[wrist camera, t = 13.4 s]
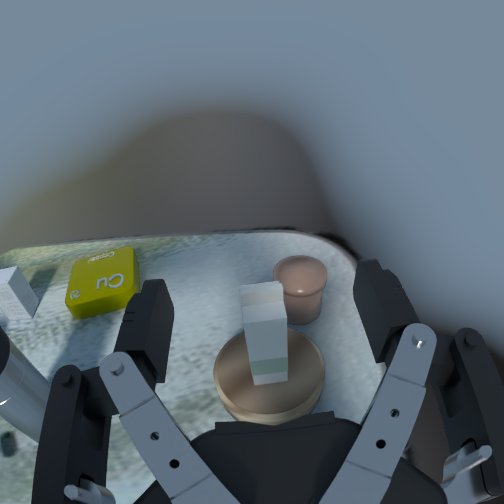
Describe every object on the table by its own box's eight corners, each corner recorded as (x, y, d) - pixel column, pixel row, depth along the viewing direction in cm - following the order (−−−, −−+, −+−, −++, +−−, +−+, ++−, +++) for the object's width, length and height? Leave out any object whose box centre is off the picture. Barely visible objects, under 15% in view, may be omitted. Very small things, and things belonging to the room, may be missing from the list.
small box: (40, 301, 57) (18, 264, 50) (32, 319, 52) (7, 282, 46) (17, 303, 56) (-5, 269, 50) (9, 320, 52) (-15, 286, 45)
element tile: (139, 259, 66) (132, 241, 63) (141, 305, 55) (132, 286, 52) (80, 275, 63) (72, 259, 61) (72, 322, 52) (61, 305, 49)
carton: (253, 385, 35) (240, 312, 26) (250, 351, 39) (237, 273, 31) (288, 381, 35) (287, 305, 26) (282, 347, 39) (278, 268, 31)
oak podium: (199, 390, 40) (190, 373, 37) (263, 330, 48) (261, 308, 45) (278, 450, 32) (277, 439, 29) (340, 373, 40) (345, 354, 37)
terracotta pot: (265, 313, 50) (262, 277, 46) (293, 285, 55) (293, 249, 50) (306, 335, 46) (308, 299, 41) (332, 303, 51) (336, 267, 46)
